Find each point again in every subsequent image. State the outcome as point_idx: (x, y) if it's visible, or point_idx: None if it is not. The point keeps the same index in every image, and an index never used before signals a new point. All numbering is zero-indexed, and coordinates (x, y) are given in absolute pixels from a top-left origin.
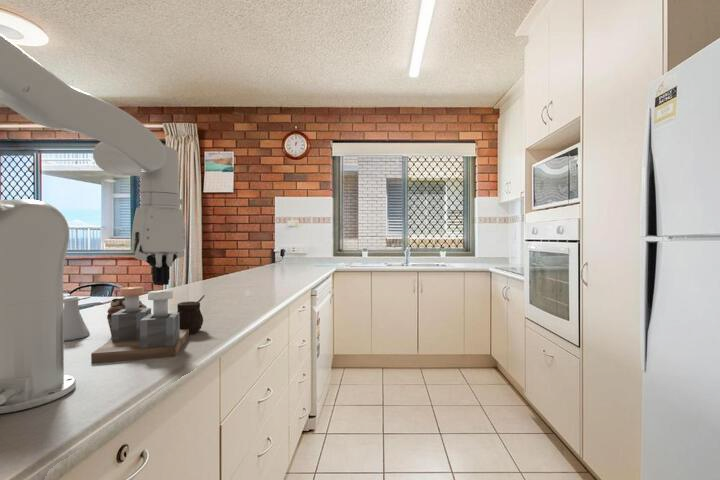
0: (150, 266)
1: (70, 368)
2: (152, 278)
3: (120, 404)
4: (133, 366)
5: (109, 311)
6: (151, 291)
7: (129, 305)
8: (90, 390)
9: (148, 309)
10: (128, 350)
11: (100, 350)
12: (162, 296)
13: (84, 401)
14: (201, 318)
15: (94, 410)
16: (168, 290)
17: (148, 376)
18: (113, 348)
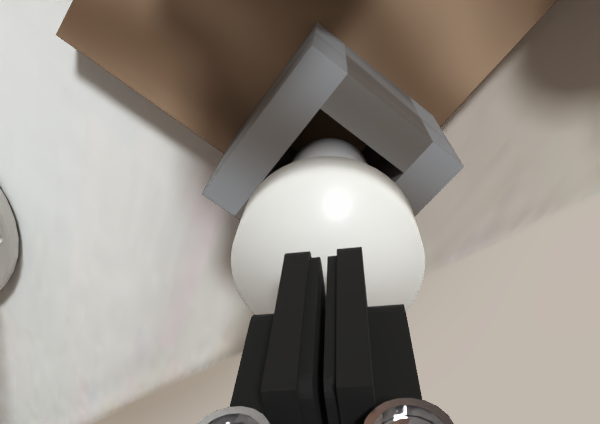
0: (209, 415)
1: (6, 30)
2: (250, 327)
3: (100, 414)
4: (190, 202)
5: None
6: (281, 197)
7: None
8: (54, 297)
9: None
10: (188, 127)
11: (93, 18)
12: None
13: (38, 348)
14: None
15: (53, 402)
16: (403, 260)
17: (196, 319)
18: (146, 35)
